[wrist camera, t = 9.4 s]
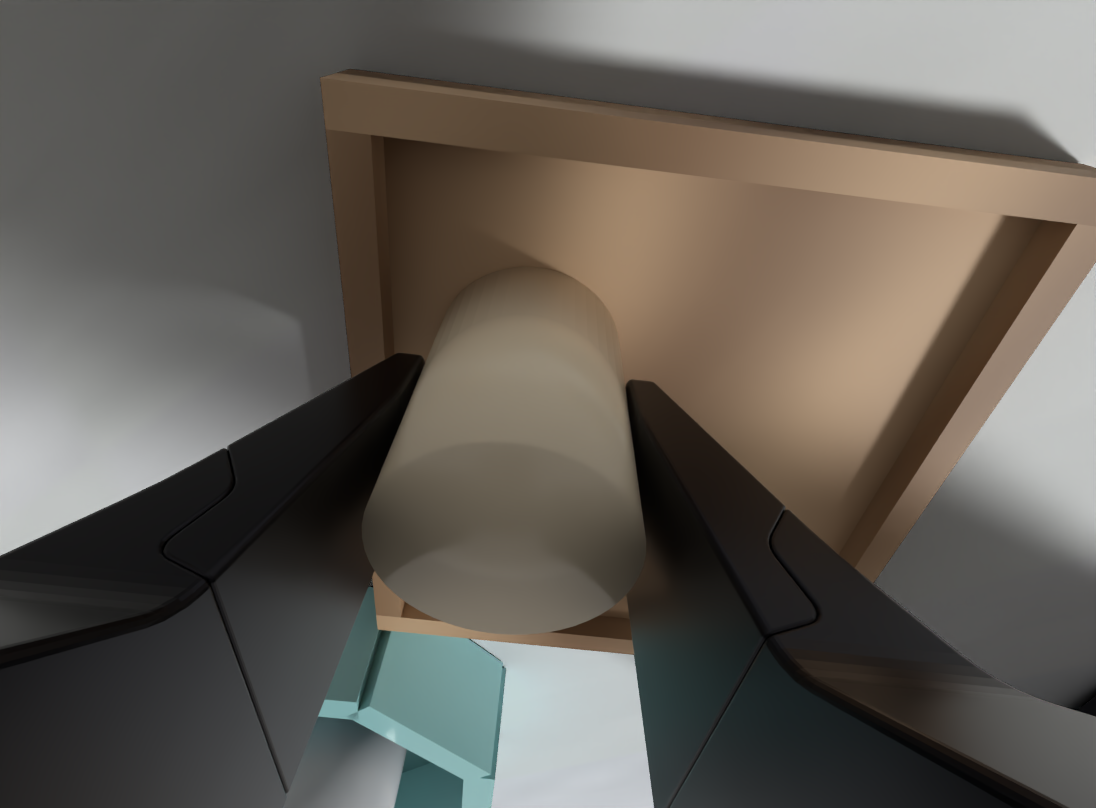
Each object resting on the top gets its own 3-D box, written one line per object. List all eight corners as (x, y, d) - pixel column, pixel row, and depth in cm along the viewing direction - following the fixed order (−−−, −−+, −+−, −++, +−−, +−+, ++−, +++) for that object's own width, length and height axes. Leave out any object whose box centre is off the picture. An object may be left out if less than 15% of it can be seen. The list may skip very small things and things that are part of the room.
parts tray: (1083, 163, 9) (1149, 184, 8) (796, 629, 16) (812, 671, 15) (349, 69, 8) (319, 77, 7) (390, 589, 15) (377, 629, 14)
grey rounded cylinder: (418, 659, 16) (373, 856, 12) (420, 716, 18) (381, 902, 14) (303, 648, 16) (221, 844, 12) (316, 707, 18) (249, 892, 14)
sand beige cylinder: (636, 279, 9) (677, 461, 6) (603, 433, 11) (617, 646, 7) (438, 255, 9) (349, 424, 5) (439, 414, 11) (371, 621, 7)
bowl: (514, 601, 15) (502, 716, 13) (492, 775, 21) (481, 876, 19) (109, 560, 15) (18, 670, 12) (204, 749, 21) (156, 848, 19)
